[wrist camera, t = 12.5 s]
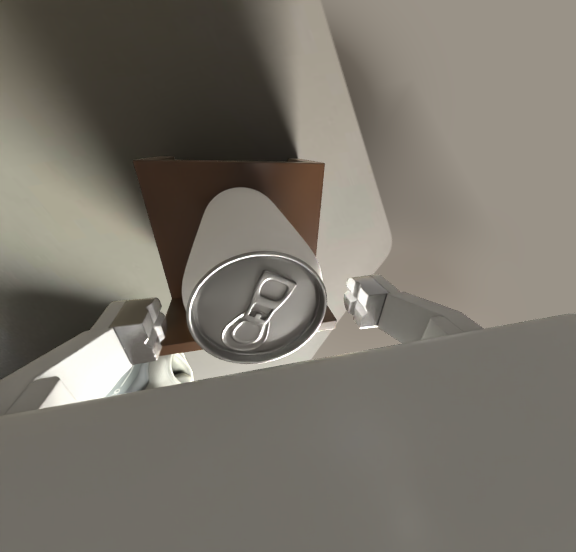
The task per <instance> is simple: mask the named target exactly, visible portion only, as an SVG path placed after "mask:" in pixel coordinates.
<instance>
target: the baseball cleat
mask: <svg viewBox="0 0 576 552" xmlns="http://www.w3.org/2000/svg"><path fill="white" fill-rule="evenodd" d="M192 381H194V379H193V372H192V370H191V368H190V366H189V364H188V362H187V360H186V358H185V356H184V354H183V353H177V354H171V355H164V356H159V357H158V360H157V361H152V362H147V363H141V364H136V365H132V367H131V368H130V369H129V370H128V371H127V372H126V373H125V374H124V375H123V376H122V377H121V378H120V379H119V380H118V381H117V382H116V383H115V384H114V385H113V386H112V387H111V388H110V389H109V390H108V391H107V392H106V393H105V394H104V395H103V396H102V397H101V398H103V397H108V396H114V395H120V394H125V393H131V392H136V391H142V390H147V389H153V388H158V387H164V386H170V385H175V384H181V383H186V382H192Z"/></svg>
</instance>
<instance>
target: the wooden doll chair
mask: <svg viewBox="0 0 576 552" xmlns="http://www.w3.org/2000/svg"><path fill="white" fill-rule="evenodd" d="M133 164H134V167H135V171H136V174H137V178H138V181H139V185H140V188H141V192H142V195H143V199H144V202H145V206H146V209H147V213H148V216H149V220H150V223H151V227H152V230H153V234H154V237H155V241H156V244H157V248H158V251H159V255H160V258H161V262H162V265H163V269H164V272H165V276H166V279H167V283H168V286H169V290H170V293H171V297H172V300H171V303H170V306H169V308H168V311H167V314H166V317H165V318H166V323H167V332H166V336H165V338H164V339H163V340H162V341H161V342H160V343H161V345H162V348H161V351H160V354H159V356H164V355H171V354H177V353H183V352H190V351H196V350H203V349H202V348H201V347H200V346H199V345H198V344H197V343H196V341H195V340H194V338H193V337H192V335H191V333H190V331H189V328H188V325H187V319H186V310H185V307H184V304H183V299H182V281H183V276H184V272H185V268H186V265H187V262H188V259H189V255H190V252H191V249H192V246H193V243H194V240H195V237H196V234H197V231H198V228H199V226H200V223H201V220H202V217H203V214H204V212H205V210H206V208H207V206H208V204H209V203H210V201H211V200H212V199H213V198H214V197H215V196H217V195H218V194H219V193H221V192H223V191H225V190H228V189H231V188H237V187H245V188H250V189H254V190H256V191H259V192H261V193H262V194H264V195H265V196H267V197H268V198H269V199H270V200H271V201H272V202H273V203H274V204H275V206H276V207H277V208H278V209H279V210H280V211H281V213H282V214H283V215H284V216H285V217H286V219H287V220H288V221H289V222H290V223H291V225H292V226H293V227H294V228H295V230H296V231H297V232H298V233H299V234H300V236H301V237H302V238H303V239H304V241H305V242H306V243H307V244H308V246H309V247H310V249H311V250H312V251H313V253H314V254H315V256H316V250H317V239H318V229H319V218H320V208H321V197H322V187H323V177H324V166H325V163H321V162H315V161H309V160H303V159H290V158H288V162H277V161H216V160H175V158H174V156H158V157H151V158H143V159H137V160H133ZM336 321H337V320H336V318H335V317H334V315H333V314H332V312H331V310H330V309H329V307H328V306H327V307H326V312H325V316H324V319H323V321H322V323H321V325H320V327H319V328H318V330H317V331H324V330H330V329H335V327H336ZM317 331H316V332H317Z"/></svg>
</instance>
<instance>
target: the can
mask: <svg viewBox="0 0 576 552" xmlns="http://www.w3.org/2000/svg"><path fill="white" fill-rule="evenodd" d="M182 299H183V304H184V307H185V310H186V319H187V325H188V328H189V331H190V333H191V335H192V337H193V338H194V340H195V341H196V343H197V344H198V345H199V346H200V347H201V348H202V349H203V350H205V351H206V352H208V353H209V354H211V355H212V356H214V357H216V358H219V359H221V360H224V361H228V362H232V363H239V364H257V363H264V362H269V361H273V360H276V359H279V358H282V357H284V356H286V355H288V354H290V353H292V352H294V351H295V350H297V349H299V348H300V347H301V346H303V345H304V344H305V343H306V342H307V341H308V340H309V339H310V338H311V337H312V336H313V335H314V334H315V333H316V331H317V330H318V328H319V327H320V325H321V323H322V321H323V319H324V316H325V312H326V307H327V295H326V290H325V286H324V284H323V279H322V272H321V268H320V265H319V262H318V260H317V258H316V256H315V254H314V253H313V251H312V250H311V249H310V247H309V246H308V244H307V243H306V242H305V241H304V239H303V238H302V237H301V236H300V234H299V233H298V232H297V231H296V230H295V228H294V227H293V226H292V225H291V223H290V222H289V221H288V220H287V219H286V217H285V216H284V215H283V214H282V213H281V211H280V210H279V209H278V208H277V207H276V206H275V204H274V203H273V202H272V201H271V200H270V199H269V198H268V197H267V196H265V195H264V194H262V193H261V192H259V191H256V190H254V189H250V188H245V187H237V188H231V189H228V190H225V191H223V192H221V193H219V194H218V195H217V196H215V197H214V198H213V199H212V200H211V201H210V203H209V204H208V206H207V208H206V210H205V212H204V214H203V217H202V220H201V223H200V226H199V228H198V231H197V234H196V237H195V240H194V243H193V246H192V249H191V252H190V255H189V259H188V262H187V265H186V268H185V272H184V276H183V281H182Z"/></svg>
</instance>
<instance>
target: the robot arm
mask: <svg viewBox="0 0 576 552" xmlns="http://www.w3.org/2000/svg"><path fill="white" fill-rule="evenodd" d="M346 286H347V288H348V290H347V291H346V293H345V294H344V305H345V308H346V310H347V311H348V313H350V314H352V315H354V317H353V320H354V321H355V322H356V324H357V325H358V326H359V328H360V329H362V328H370V327H378V328H379V329H380V330H382V331H384V332H385V333H387V334H388V335H390V336H391V337H393V338H395V339H396V340H398V341H399V342H401V343H402V344H398V345H392V346H387V347H381V348H375V349H370V350H364V351H359V352H353V353H347V354H342V355H336V356H331V357H325V358H319V359H314V360H308V361H303V362H297V363H291V364H286V365H280V366H275V367H269V368H264V369H258V370H253V371H247V372H242V373H236V374H231V375H225V376H220V377H214V378H208V379H203V380H197V381H192V382H186V383H181V384H175V385H170V386H164V387H158V388H153V389H147V390H142V391H136V392H131V393H125V394H120V395H114V396H108V397H103V398H101V397H102V396H103V395H104V394H105V393H106V392H107V391H108V390H109V389H110V388H111V387H112V386H113V385H114V384H115V383H116V382H117V381H118V380H119V379H120V378H121V377H122V376H123V375H124V374H125V373H126V372H127V371H128V370H129V369H130V368H131V367H132V365H136V364H141V363H147V362H152V361H157V360H158V357H159V354H160V351H161V348H162V345H161V343H160V342H161V341H162V340H163V339H164V338H165V336H166V332H167V323H166V318H165V315H164V314H162V313H161V312H160V309H161V307H162V306H161V303H160V300H159V299H158V298H145V299H133V300H122V301H114V302H111V303H110V304H109V305H108V307H107V308H106V309H105V311H104V312H103V313H102V315H101V316H100V317H99V319H98V320H97V321H96V323H95V324H94V325H93V327H92V328H91V329H90V331H84V332H82V333H81V334H79V335H77V336H75V337H74V338H72V339H70V340H69V341H67V342H65V343H63V344H62V345H60V346H58V347H56V348H55V349H53V350H51V351H50V352H48V353H46V354H44V355H43V356H41V357H39V358H37V359H36V360H34V361H32V362H31V363H29V364H27V365H25V366H24V367H22V368H20V369H18V370H17V371H15V372H13V373H12V374H10V375H8V376H6V377H5V378H3V379H1V380H0V552H576V314H564V315H558V316H552V317H547V318H542V319H536V320H530V321H525V322H519V323H514V324H508V325H503V326H497V327H492V328H486V329H484V328H482V327H481V326H480V325H478V324H477V323H475V322H474V321H473V320H471V319H470V318H468V317H467V316H466V315H464V314H463V313H462V312H459V311H457V310H454V309H451V308H448V307H445V306H443V305H440V304H437V303H434V302H431V301H428V300H426V299H423V298H420V297H417V296H415V295H412V294H409V293H406V292H400V291H399V290H398V289H397V288H396V287H394V286H393V285H392V284H391V283H390V282H389V281H387V280H386V279H385V278H384V277H383V276H381V275H379V274H376V275H368V276H361V277H353V278H348V280H347V284H346Z"/></svg>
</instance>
